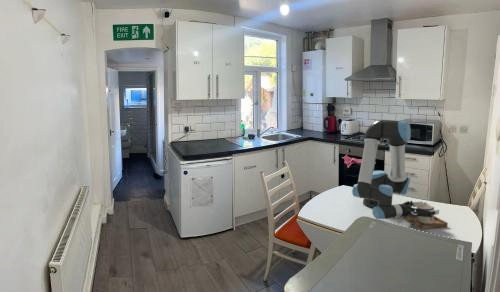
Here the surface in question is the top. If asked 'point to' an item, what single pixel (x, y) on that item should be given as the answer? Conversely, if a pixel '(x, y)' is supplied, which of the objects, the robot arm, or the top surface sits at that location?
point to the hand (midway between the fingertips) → (430, 207)
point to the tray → (436, 224)
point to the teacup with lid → (425, 219)
